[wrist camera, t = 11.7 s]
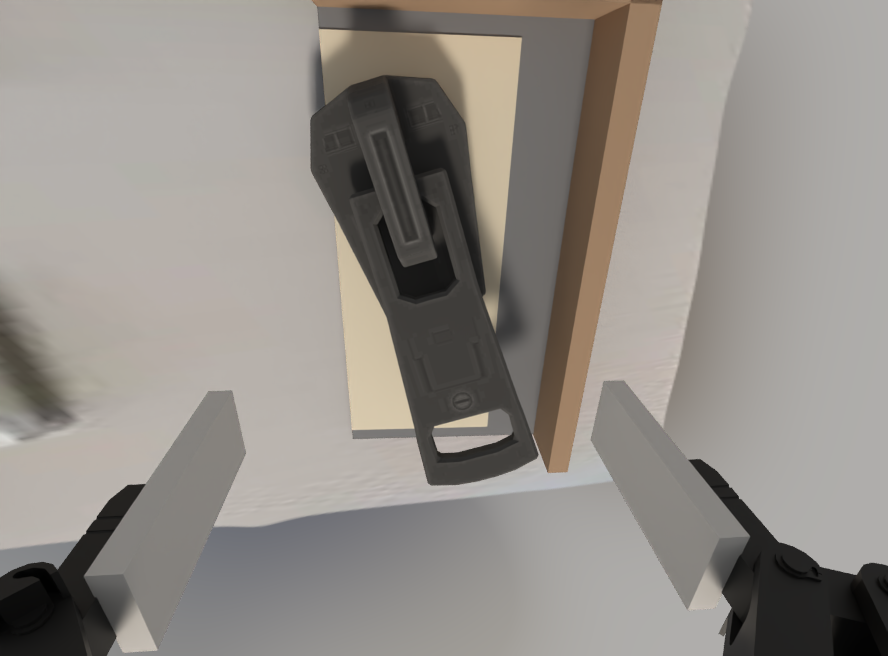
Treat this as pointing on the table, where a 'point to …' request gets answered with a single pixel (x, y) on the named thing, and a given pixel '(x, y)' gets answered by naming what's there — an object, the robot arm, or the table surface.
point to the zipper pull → (421, 259)
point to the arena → (507, 184)
